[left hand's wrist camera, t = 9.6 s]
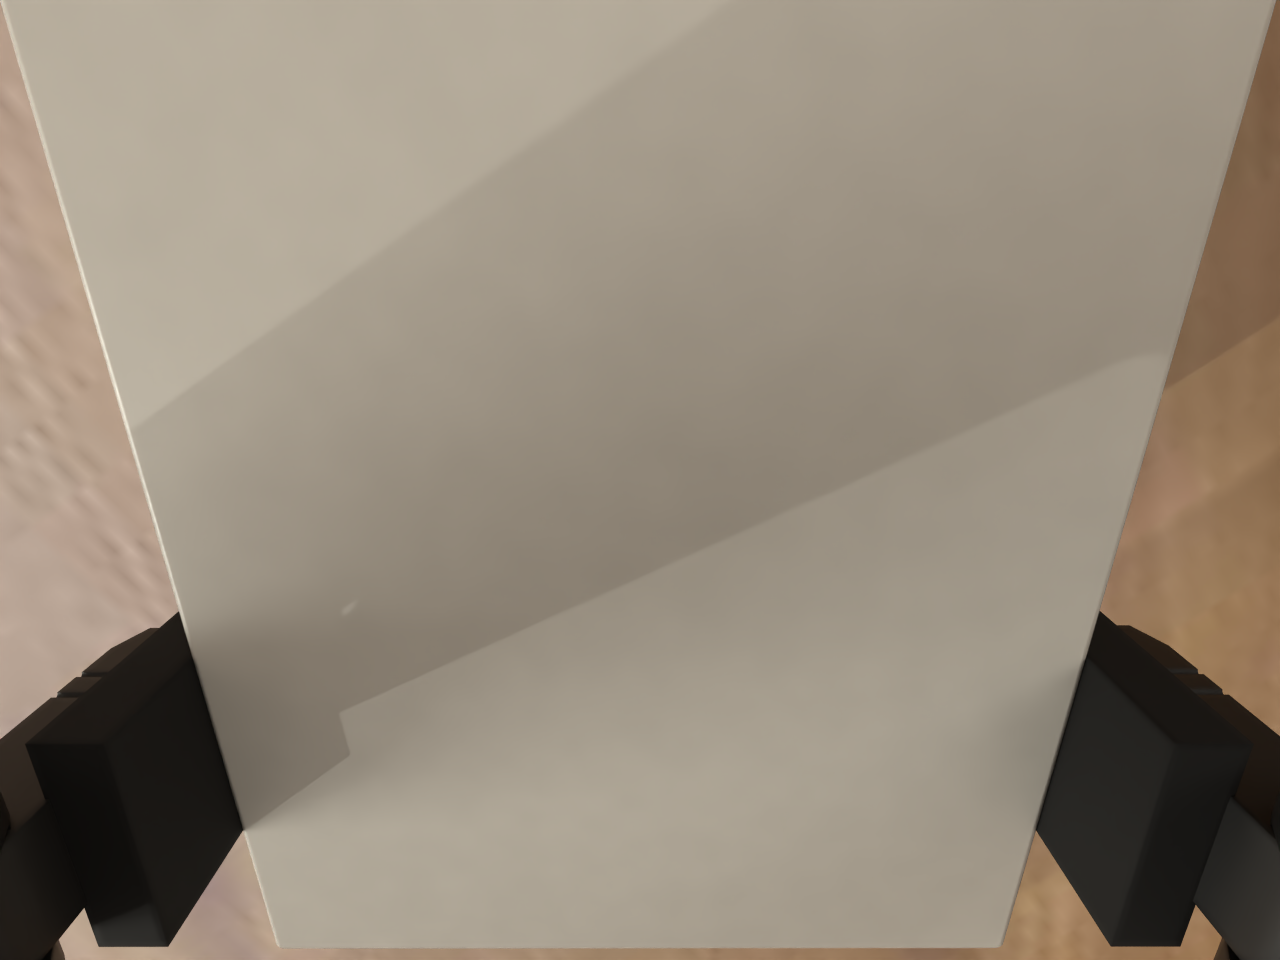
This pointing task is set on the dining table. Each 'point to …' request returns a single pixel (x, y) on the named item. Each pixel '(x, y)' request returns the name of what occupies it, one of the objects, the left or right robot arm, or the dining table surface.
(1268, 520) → the dining table surface
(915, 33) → the cabinet
